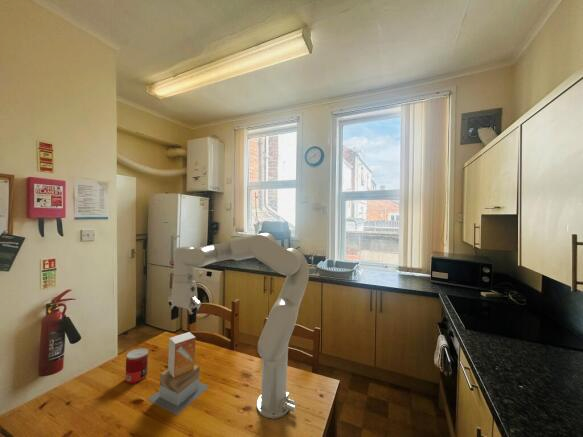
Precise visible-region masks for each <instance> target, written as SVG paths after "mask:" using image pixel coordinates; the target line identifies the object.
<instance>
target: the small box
mask: <svg viewBox="0 0 583 437" xmlns="http://www.w3.org/2000/svg"><path fill="white" fill-rule="evenodd" d="M196 338H197V337H196V336H195V335H194V334H192V332H190V331H188V332H185V333H181V334H178V335H175V336H172V337H170V338H168V359H167V360H168V362H167V369H168V371H169V373H170V374H171V375H172V377H173V378H175V377H177V376H179V375H182V374H184V373H186V372H189V371H191V370H194V365H195V362H196V361H195V359H196Z"/></svg>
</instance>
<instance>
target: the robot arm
mask: <svg viewBox="0 0 583 437" xmlns="http://www.w3.org/2000/svg"><path fill="white" fill-rule="evenodd" d="M252 258H255V259H256V260H258V261H260V262H261V263H262V264H263V265H266V266H268V267H269V268H271V269H272V270H274V271H275V272H277V273H278V274H280V275H283V276H286V277H285V280H284V282H283V285H282V288H281V290H280V293H279V295H278V297H277V299H276V301H275V302H274V304H273V305H272V307H271V309H270V311H269V313H268V316H267V319H266V320H265V324H264V326H263V330H262V332H261V334H260V337H259V339H258V342H257V352H258V354H259V356H260V358H261V360H262V363H261V364H262V366H261V389H260V390H261V392H260V393H261V394H260V395H259V397H258V398H257V400H256V409H257V411H258V413H259V414H260V415H261V416H262V417H264V418H268V419H278V418H281V417H283V416H285V415H286V414H287V413H288V412H289V411H290V412H293V413H295V411H296V400H295V399H292V398H290V397H289V396H290V392H288V391H287V389H288V388H287V386H288V385H287V384H288V383H287V381H288V380H287V378H288V358H289V356H288V355H289V354H288V353H289V342H290V339H291V336H292V334H293V331H294V330H295V326H296V324H297V323H296V322H297V319H298V315H299V310H300V306H301V302H302V300H303V299H304V298H303V297H304V295H305V292H306V288H307V286H308V283H309V279H310V269H309V264H308V261H307V259H306V257H305V255H304V254H303V253H302V252H301V251H300V250H298V249H296V248H294V247H289V248H285V247H283V246H282V245H280V243H278V242H277V241H276V238H275V237H274V235H273V234H271V233H268V232H262V233H258V234H252V235H248V236H243V237H238V238H237V237H236V238H233V239H231V240H229V241H224V242H220V243H216V244H215V243H214V244H209V245H204V246H201V247H195V248H194V247H192V246H179V247H176V248H175V249H174V251H173V282H172V285H171V286H172V287H171V295H169V296H167V301H168V305H169V310H170V320H171V321H173V320H176V319H178V318H179V316H180V308H182V309H186V310H187V311H188V312H189V313H188V320H187V321H188V323H187V324H188V325H192V324H195V323H197V313H198V311H199V310H200V307H201V306H202V303H201V301H200V300H199V299H198V288H197V287H198V286H197V282H196V280H195V279H196V277H195V268H202V267H205V266H208V265H210V264H214V263H217V262H221V261H226V260H227V261H228V260H234V261H242V260H247V259H252Z"/></svg>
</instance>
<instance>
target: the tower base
mask: <svg viewBox="0 0 583 437" xmlns="http://www.w3.org/2000/svg"><path fill="white" fill-rule="evenodd" d="M199 382H200V377H199V378H198V379H197V380H196V381H194V382H193V383H192V384H190V385H189V386H188V387H186V388H185V389H184V390H183V391H181V392H180V393H179V394H177V393H175V392H173V391H171V390H169V389H167V388H165V387H163V386H161V385H160V384H159V391H160V396H159V397H161V398H163V399H165V400H167V401H169V402H170V403H172V404H174V405H176V406H178V405H180V404H181V403H182V402H183V401H185V400H186V399H187V398H188V397H189V396H191V395H192V394H193V393H194V392H196V391H197V390H198V389H199Z"/></svg>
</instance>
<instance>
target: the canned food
mask: <svg viewBox="0 0 583 437" xmlns="http://www.w3.org/2000/svg"><path fill="white" fill-rule="evenodd" d="M125 358H126V359H125V380H124V381H125V382H126V384H128V385H135V384H139V383H140V382H142V381H143V380H145V379H146V378H147V376H148V363H149V350H148V349H147V348H144V347H143V348H141V347H140V348H136V349H133V350H131V351H129V352H127V353H126V356H125Z"/></svg>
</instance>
